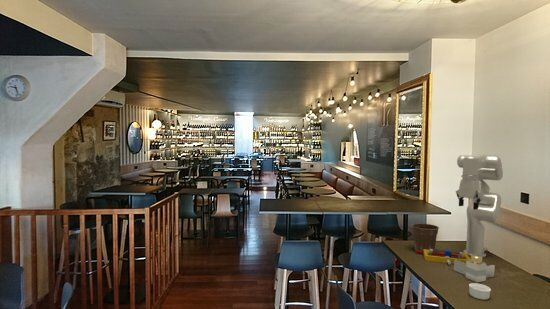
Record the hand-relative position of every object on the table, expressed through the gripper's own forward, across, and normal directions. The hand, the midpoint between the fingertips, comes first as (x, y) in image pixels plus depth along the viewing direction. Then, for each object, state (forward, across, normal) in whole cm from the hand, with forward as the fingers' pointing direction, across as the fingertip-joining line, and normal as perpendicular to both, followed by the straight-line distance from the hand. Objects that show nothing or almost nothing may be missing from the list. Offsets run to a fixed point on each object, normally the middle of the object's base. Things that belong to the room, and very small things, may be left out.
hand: (468, 207), depth 206 cm
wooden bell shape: (+32, +18, -14) cm, 40 cm away
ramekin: (+34, +33, -30) cm, 56 cm away
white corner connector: (+33, +13, -9) cm, 37 cm away
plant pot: (+34, -28, -4) cm, 44 cm away
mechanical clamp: (+34, -10, -6) cm, 36 cm away
